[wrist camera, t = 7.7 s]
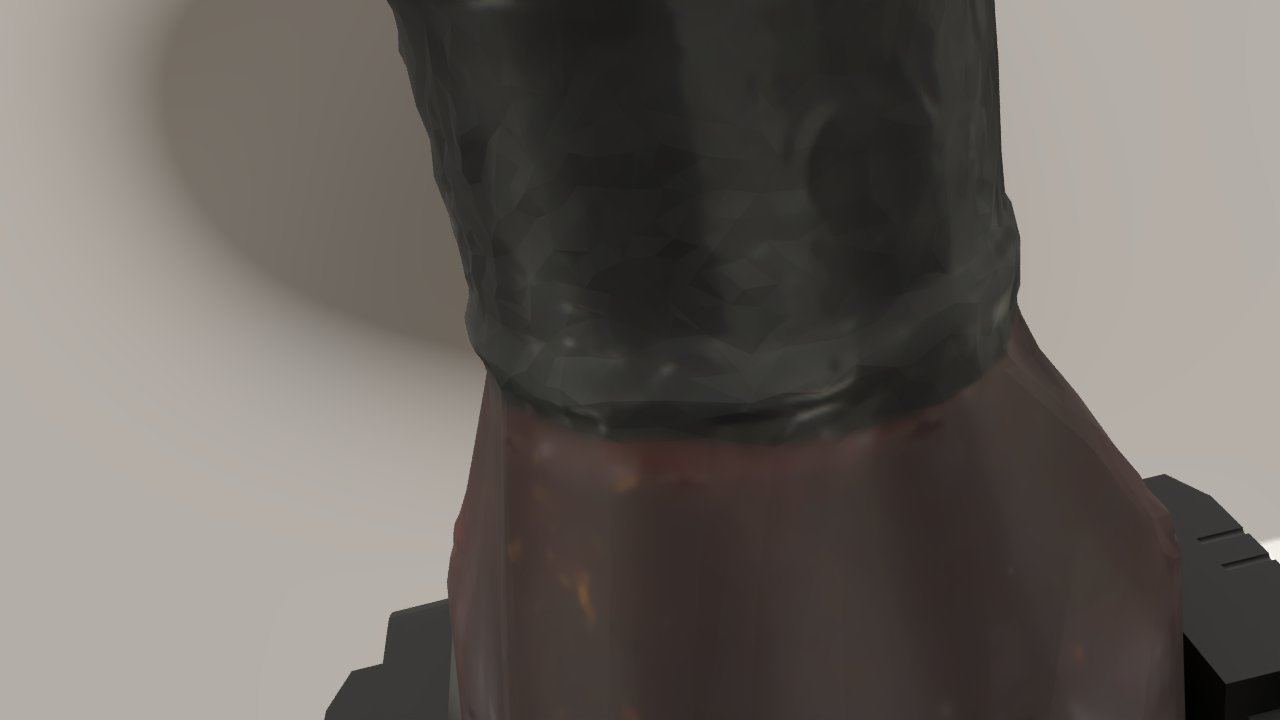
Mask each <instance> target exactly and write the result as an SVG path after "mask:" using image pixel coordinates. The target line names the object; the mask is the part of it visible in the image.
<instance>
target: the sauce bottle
mask: <svg viewBox="0 0 1280 720" xmlns="http://www.w3.org/2000/svg"><path fill="white" fill-rule="evenodd" d="M387 1H388V3H389V5H390V7H391V8H392V10H393V13H394V16H395V20H396V24H397V28H398V40H399V52H400V55H401V57H402V59H403V61H404V63H405V65H406V67H407V71H408V75H409V79H410V82H411V87H412V91H413V95H414V99H415V103H416V106H417V109H418V111H419V114H420V116H421V119H422V121H423V124H424V126H425V128H426V131H427V133H428V136H429V138H430V142H431V151H432V161H433V171H434V178H435V181H436V184H437V186H438V189H439V191H440V194H441V196H442V198H443V201H444V203H445V206H446V208H447V211H448V213H449V217H450V221H451V225H452V229H453V233H454V236H455V238H456V240H457V243H458V247H459V251H460V255H461V259H462V264H463V268H464V273H465V277H466V280H467V284H468V286H469V299H468V303H467V308H466V312H465V324H466V328H467V331H468V335H469V339H470V342H471V344H472V346H473V348H474V350H475V352H476V353H477V355H478V356H479V357H480V358H481V360H482V361H483V362H484V365H485V367H486V370H487V375H486V381H485V387H484V393H483V399H482V405H481V410H480V416H479V422H478V429H477V434H476V440H475V446H474V451H473V457H472V462H471V468H470V474H469V480H468V485H467V490H466V494H465V497H464V501H463V504H462V507H461V511H460V514H459V516H458V518H457V520H456V522H455V527H454V545H453V549H452V553H451V557H450V564H449V571H448V579H447V586H448V599H449V610H450V618H451V627H452V635H453V644H454V652H455V661H456V671H457V680H458V689H459V699H460V708H461V718H462V720H1185V689H1184V655H1183V614H1182V554H1181V550H1180V546H1179V542H1178V538H1177V536H1176V534H1175V530H1174V527H1173V523H1172V520H1171V516H1170V513H1169V512H1168V510H1167V509H1166V508H1165V506H1164V505H1163V503H1162V502H1161V501H1160V500H1159V499H1158V498H1157V497H1156V496H1155V495H1154V494H1153V493H1152V492H1151V491H1150V490H1149V489H1148V488H1147V486H1146V485H1145V483H1144V481H1143V480H1142V478H1141V477H1140V475H1139V474H1138V472H1137V471H1136V470H1135V469H1134V468H1133V466H1132V465H1131V464H1130V463H1129V462H1128V461H1127V459H1126V458H1125V457H1124V456H1123V455H1122V454H1121V453H1120V451H1119V450H1118V449H1117V448H1116V446H1115V445H1114V444H1113V442H1112V441H1111V440H1110V438H1109V437H1108V435H1107V434H1106V433H1105V431H1104V430H1103V429H1102V427H1101V426H1100V424H1099V423H1098V422H1097V420H1096V419H1095V417H1094V416H1093V415H1092V413H1091V412H1090V411H1089V409H1088V408H1087V406H1086V405H1085V404H1084V402H1083V401H1082V399H1081V398H1080V397H1079V396H1078V394H1077V393H1076V392H1075V390H1074V389H1073V388H1072V387H1071V386H1070V384H1069V383H1068V382H1067V381H1066V380H1065V379H1064V377H1063V376H1062V375H1061V374H1060V372H1059V371H1058V370H1057V369H1056V368H1055V366H1054V365H1053V364H1052V363H1051V362H1050V360H1049V359H1048V358H1047V357H1046V356H1045V355H1044V353H1043V352H1042V351H1041V350H1040V349H1039V347H1038V345H1037V343H1036V341H1035V339H1034V338H1033V336H1032V333H1031V332H1030V330H1029V328H1028V326H1027V324H1026V322H1025V320H1024V318H1023V316H1022V315H1021V312H1020V309H1019V306H1018V304H1017V293H1018V290H1019V287H1020V235H1019V231H1018V227H1017V223H1016V219H1015V215H1014V211H1013V207H1012V203H1011V201H1010V199H1009V198H1008V196H1007V195H1006V193H1005V187H1004V176H1003V164H1002V153H1001V125H1000V96H999V65H998V48H997V34H996V19H995V2H994V0H387Z"/></svg>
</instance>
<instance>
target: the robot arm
mask: <svg viewBox="0 0 1280 720" xmlns="http://www.w3.org/2000/svg"><path fill="white" fill-rule="evenodd" d="M1142 480H1143V481H1144V483H1145V485H1146V486H1147V488H1148V489H1149V490H1150V491H1151V492H1152V493H1153V494H1154V495H1155V496H1156V497H1157V498H1158V499H1159V500H1160V501H1161V502H1162V503H1163V505H1164V506H1165V508H1166V509H1167V510H1168V512H1169V513H1170V516H1171V520H1172V523H1173V527H1174V530H1175V534H1176V536H1177V538H1178V542H1179V546H1180V550H1181V554H1182V614H1183V655H1184V689H1185V720H1280V564H1279V563H1278V562H1277V561H1276V560H1271V559H1270V557H1269V553H1268V552H1267V551H1266V550H1265V549H1264V548H1263V547H1262V546H1261V545H1260V544H1259V543H1258V542H1257V541H1256V540H1255V539H1254V538H1253V537H1252V536H1251V535H1250V534H1245V533H1244V531H1243V527H1242V526H1241V525H1240V524H1238V523H1237V521H1236V520H1234V518H1233V517H1232V516H1230V514H1229V513H1227V512H1226V511H1225V509H1223V508H1222V507H1221V506H1220V505H1219V504H1218V503H1217V502H1216V501H1215V500H1214V499H1213V498H1212V497H1211V496H1210V495H1207V494H1205V493H1203V492H1201V491H1199V490H1197V489H1195V488H1193V487H1191V486H1189V485H1186V484H1184V483H1182V482H1180V481H1178V480H1176V479H1174V478H1172V477H1170V476H1168V475H1166V474H1162V475H1158V476H1154V477H1150V478H1146V479H1142ZM324 720H462V718H461V708H460V699H459V689H458V680H457V671H456V661H455V652H454V644H453V635H452V627H451V618H450V610H449V599H444V600H441V601H436V602H432V603H428V604H424V605H420V606H416V607H412V608H408V609H404V610H400V611H396V612H393V613H392V614H391V615H390V618H389V623H388V630H387V637H386V645H385V652H384V660H383V664H379V665H376V666H372V667H367V668H363V669H359V670H355V671H352V672H351V673H350V675H349V676H348V678H347V680H346V681H345V683H344V684H343V686H342V687H341V689H340V690H339V692H338V693H337V695H336V696H335V698H334V700H333V701H332V703H331V704H330V706H329V707H328V709H327V710H326V714H325V719H324Z"/></svg>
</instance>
